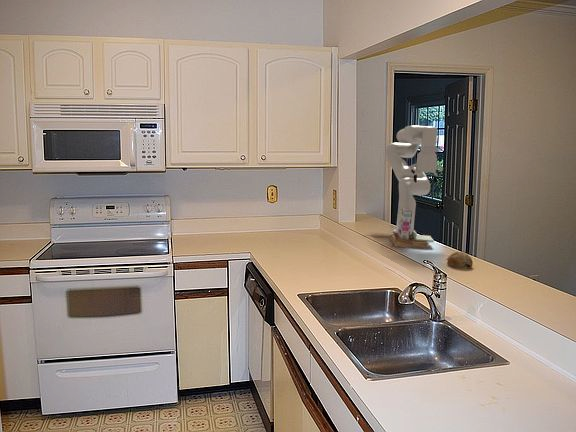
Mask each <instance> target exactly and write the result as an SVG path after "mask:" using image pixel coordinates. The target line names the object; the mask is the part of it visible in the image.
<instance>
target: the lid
mask: <svg viewBox="0 0 576 432" xmlns="http://www.w3.org/2000/svg"><path fill="white" fill-rule="evenodd" d="M412 237H413V238H414V240H421V241H427V242H428V243H434V242H435V240H434V239H433V238H432V236H431V235H425V234H422V235H421V234H417V231H416V230H415V229H413V230H412Z"/></svg>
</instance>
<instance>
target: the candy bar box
mask: <svg viewBox="0 0 576 432" xmlns="http://www.w3.org/2000/svg"><path fill="white" fill-rule="evenodd" d="M411 217H412V211H411V210H410V209H405V208H401V212H400V221H399V231H398V233H397V234H398V239H409V235H410V226H411Z"/></svg>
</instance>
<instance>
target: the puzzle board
mask: <svg viewBox="0 0 576 432" xmlns="http://www.w3.org/2000/svg"><path fill="white" fill-rule="evenodd" d="M391 242H392V245H393V244H394V245H393V246H394V247H398V246H401V247H400V248H411V249H423V250H424V249H425V250H428V246H429V242H427V241H421V240H414V238H413V237H412V235H409V239H398V233H392V234H391Z"/></svg>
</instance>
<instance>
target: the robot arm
mask: <svg viewBox="0 0 576 432" xmlns="http://www.w3.org/2000/svg"><path fill="white" fill-rule="evenodd" d="M437 139H438V128H437V127H436V126H429V125H428V126H427V125H426V126H425V125H407V126H404V128H402V129H400V130H399V131H398V132H397V133H396V140H397V141H398V142H392V143H389V144H387V145H386V147H385V150H384V151H385V158H386V161H387V162H388V164H389V166H390V168H392V170H393V173H394V175H395V177H396V179H397V181H398V197H399V198H398V206H397V207H398V209H397V219H396V227H395V228H394V229H393V231H392V232H393V233H394V234H398V231H399V221H400V212H401V208H405V209H410V210H411V211H412V217H411V226H410V235H412V230H414V226H415V219H416V218H415V216H416V207H417V202H416V199H415V197H414V195H415V196H425V195H426V196H427V194H429V193H430V191H431V183H430V181H429V178H428V176H427V174H426V173H433V175H434V176H433V177H432V178H433V180H432V184H434V185H436V183H437V182H438V179H437V178H438V176H439V175H440V174H441V173H442V172H443V170H444V168H443V167H442V166H441V165H438V163H437V162H438V159H437V152H439V148H436V147H437ZM419 147H420V152H418V150H419ZM417 152H418V154H416V153H417ZM416 155H417V158H416V163H414V164H411V165H408V164H407V162H406V160H404V158H406V159H411V158H412V159H413V157H414V156H416ZM437 169H438V171H437Z"/></svg>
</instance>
